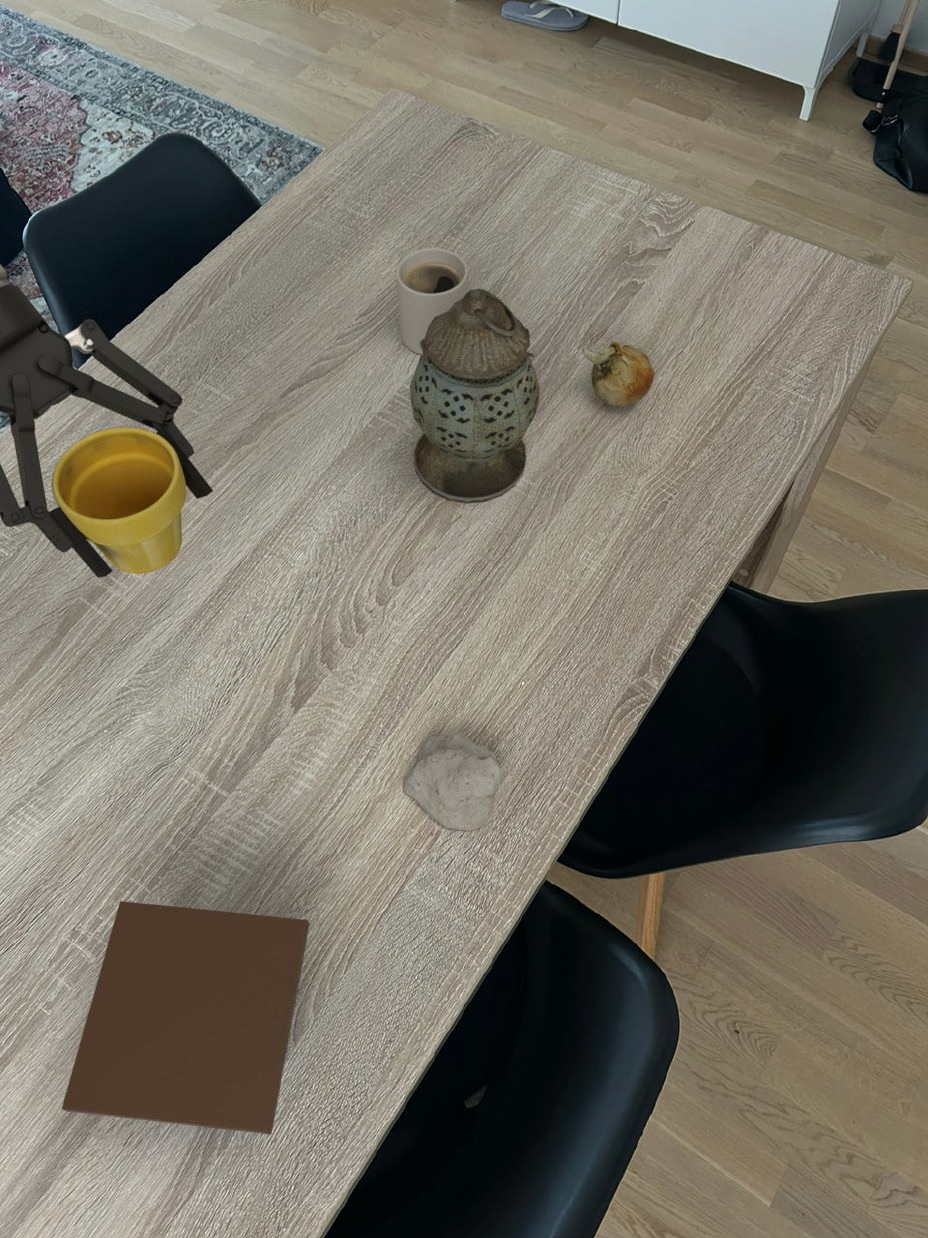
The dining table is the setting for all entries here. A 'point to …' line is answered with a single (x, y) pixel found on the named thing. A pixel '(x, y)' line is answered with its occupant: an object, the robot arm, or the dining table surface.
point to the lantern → (473, 400)
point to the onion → (620, 374)
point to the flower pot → (124, 496)
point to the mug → (427, 290)
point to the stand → (190, 1018)
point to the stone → (454, 781)
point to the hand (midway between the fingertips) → (156, 533)
